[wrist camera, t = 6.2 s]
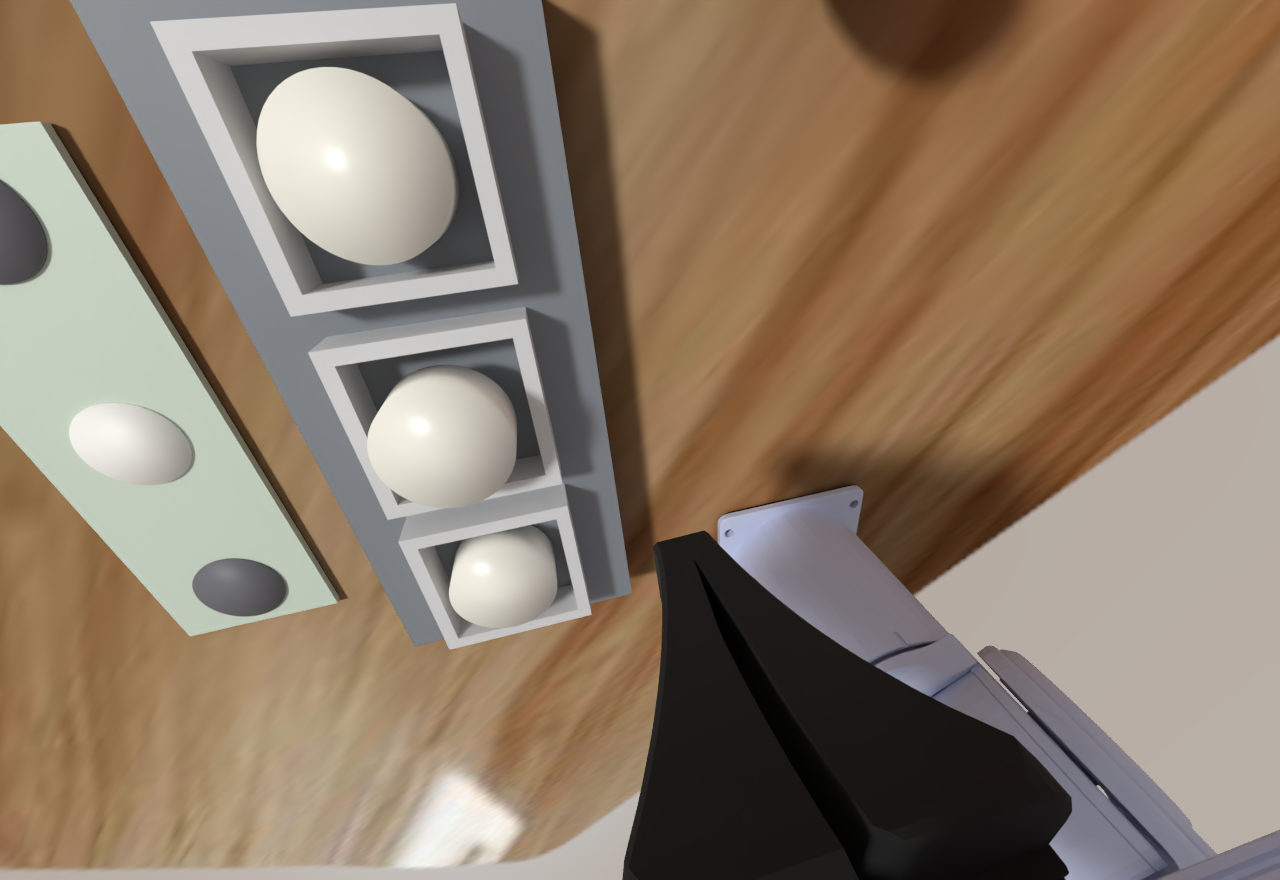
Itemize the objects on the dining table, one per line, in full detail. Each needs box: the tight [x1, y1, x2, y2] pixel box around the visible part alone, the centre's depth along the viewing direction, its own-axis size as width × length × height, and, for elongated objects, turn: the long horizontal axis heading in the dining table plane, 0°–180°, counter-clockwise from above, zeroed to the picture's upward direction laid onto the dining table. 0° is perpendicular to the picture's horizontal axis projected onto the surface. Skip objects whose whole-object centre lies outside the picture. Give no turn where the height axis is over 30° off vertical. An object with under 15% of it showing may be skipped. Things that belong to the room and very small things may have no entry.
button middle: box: [367, 365, 517, 508], centre depth 14 cm, size 4×4×2 cm
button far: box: [449, 525, 557, 628], centre depth 19 cm, size 4×4×2 cm
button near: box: [256, 67, 459, 265], centre depth 12 cm, size 4×4×2 cm
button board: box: [70, 0, 632, 650], centre depth 16 cm, size 22×10×4 cm, turn 6°
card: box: [0, 122, 340, 636], centre depth 16 cm, size 18×6×1 cm, turn 5°
